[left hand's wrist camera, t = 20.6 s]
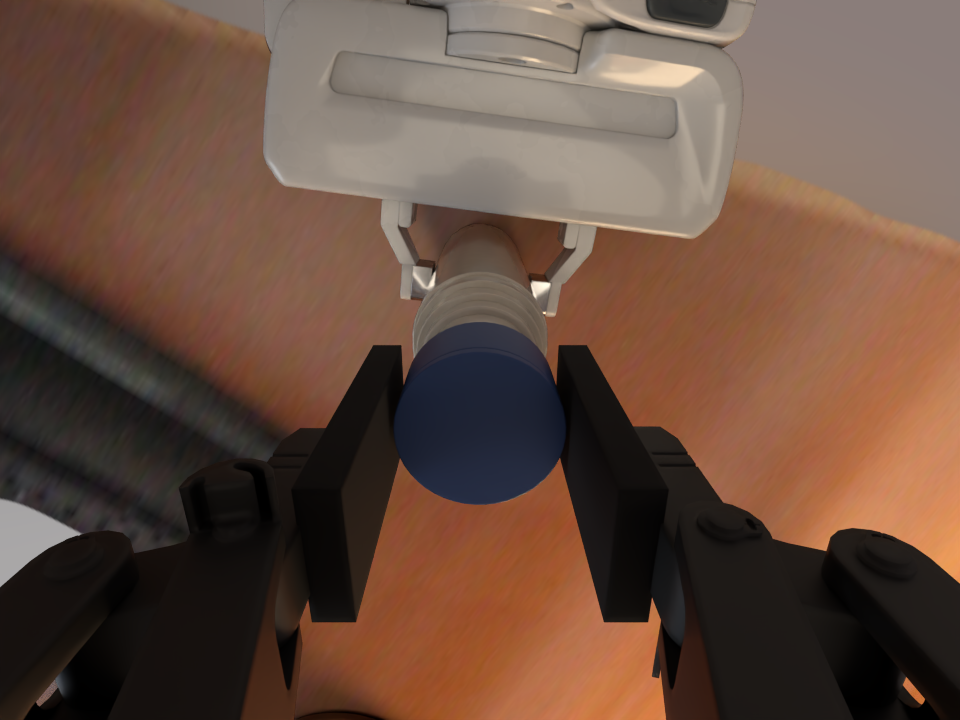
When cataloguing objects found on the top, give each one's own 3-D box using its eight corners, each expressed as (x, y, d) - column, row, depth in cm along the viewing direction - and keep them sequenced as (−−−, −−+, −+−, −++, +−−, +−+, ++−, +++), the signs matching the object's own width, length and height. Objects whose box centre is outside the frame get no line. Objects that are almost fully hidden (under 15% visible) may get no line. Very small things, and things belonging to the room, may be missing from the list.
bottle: (519, 222, 30) (583, 324, 12) (520, 302, 32) (575, 502, 14) (437, 225, 31) (370, 331, 12) (442, 304, 32) (390, 507, 14)
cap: (396, 442, 15) (382, 490, 13) (418, 308, 13) (406, 336, 11) (534, 465, 15) (543, 517, 13) (569, 337, 14) (587, 370, 12)
